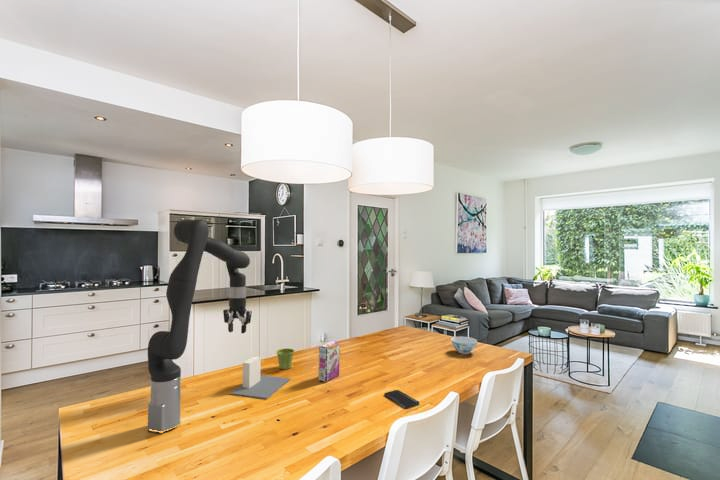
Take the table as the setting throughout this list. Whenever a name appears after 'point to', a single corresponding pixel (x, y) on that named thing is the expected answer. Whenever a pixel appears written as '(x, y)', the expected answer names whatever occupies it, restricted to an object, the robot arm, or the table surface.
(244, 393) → the slate mat
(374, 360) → the table surface
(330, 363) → the candy bar box
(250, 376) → the cream block
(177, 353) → the robot arm
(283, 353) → the plant pot
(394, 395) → the phone
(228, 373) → the table surface
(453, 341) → the chinaware
